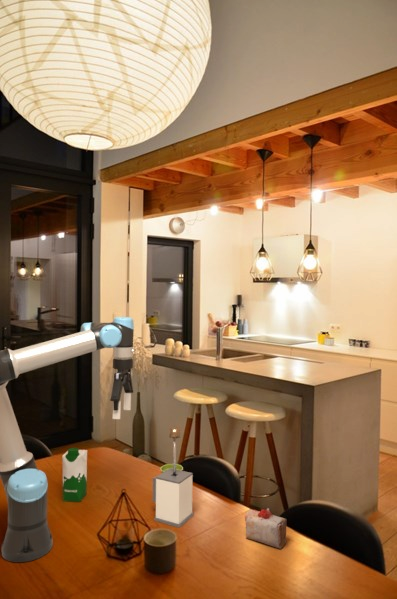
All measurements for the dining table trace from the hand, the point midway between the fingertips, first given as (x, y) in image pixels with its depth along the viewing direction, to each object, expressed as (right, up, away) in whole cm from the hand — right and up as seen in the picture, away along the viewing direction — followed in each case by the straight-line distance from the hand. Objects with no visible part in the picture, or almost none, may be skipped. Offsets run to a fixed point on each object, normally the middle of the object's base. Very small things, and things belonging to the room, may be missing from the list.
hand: (122, 414), depth 173 cm
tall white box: (+18, -36, -6) cm, 41 cm away
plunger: (+20, -23, -7) cm, 32 cm away
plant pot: (+18, -36, +18) cm, 44 cm away
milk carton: (-20, -36, +9) cm, 42 cm away
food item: (+51, -37, -21) cm, 66 cm away
